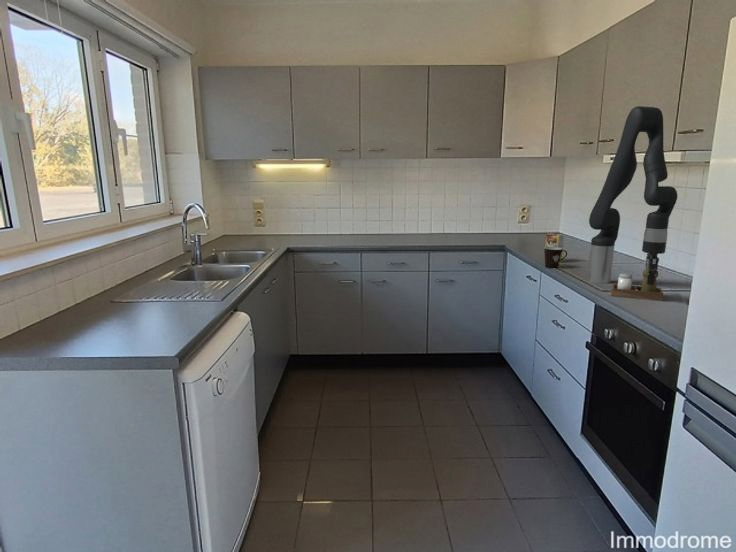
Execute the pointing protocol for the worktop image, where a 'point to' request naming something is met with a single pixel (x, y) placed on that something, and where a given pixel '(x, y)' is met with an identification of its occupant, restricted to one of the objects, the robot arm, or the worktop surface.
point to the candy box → (555, 241)
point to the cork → (645, 286)
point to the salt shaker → (625, 281)
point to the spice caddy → (637, 293)
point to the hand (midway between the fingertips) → (649, 282)
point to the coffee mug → (553, 256)
